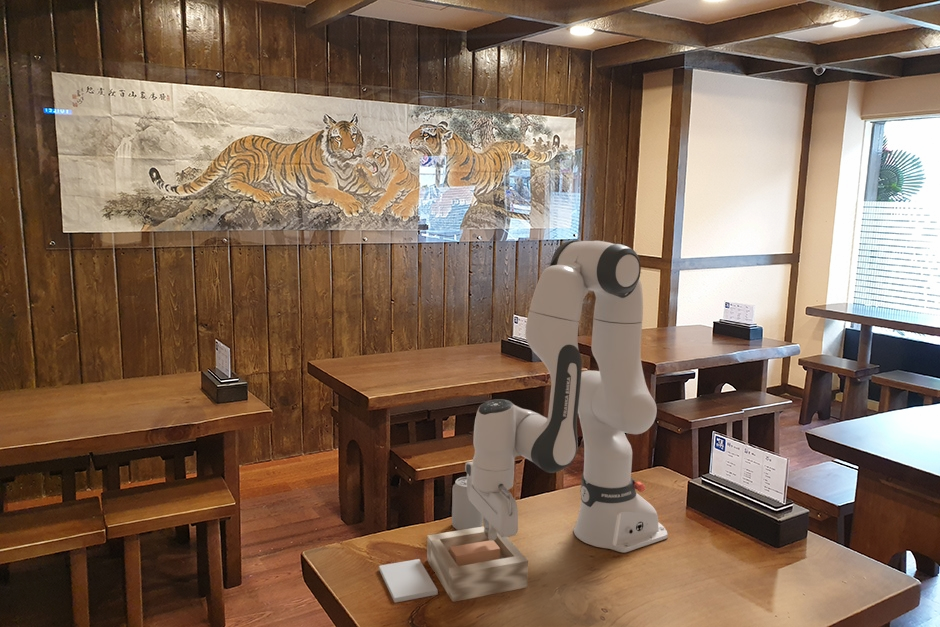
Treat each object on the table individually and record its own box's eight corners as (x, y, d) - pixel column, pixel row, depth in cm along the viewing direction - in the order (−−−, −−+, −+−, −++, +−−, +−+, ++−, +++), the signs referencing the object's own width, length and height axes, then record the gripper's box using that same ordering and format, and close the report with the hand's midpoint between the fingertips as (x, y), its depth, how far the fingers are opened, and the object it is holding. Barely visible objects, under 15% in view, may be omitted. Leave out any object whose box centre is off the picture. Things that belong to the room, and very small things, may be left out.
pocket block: (495, 548, 164) (496, 524, 163) (527, 587, 148) (528, 560, 147) (427, 560, 158) (427, 535, 157) (452, 601, 142) (453, 574, 141)
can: (479, 536, 170) (480, 488, 168) (448, 532, 171) (449, 485, 169) (484, 522, 177) (486, 476, 175) (455, 518, 178) (456, 473, 176)
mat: (419, 563, 157) (419, 558, 157) (437, 594, 145) (437, 589, 145) (379, 570, 154) (379, 565, 154) (394, 602, 142) (394, 598, 142)
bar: (492, 552, 156) (493, 539, 156) (499, 561, 153) (500, 548, 152) (449, 560, 153) (449, 547, 152) (455, 569, 149) (456, 556, 148)
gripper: (527, 494, 142) (524, 558, 144) (488, 457, 161) (486, 515, 163) (498, 498, 140) (495, 563, 142) (462, 460, 159) (460, 518, 161)
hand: (490, 537), depth 153 cm, fingers closed
